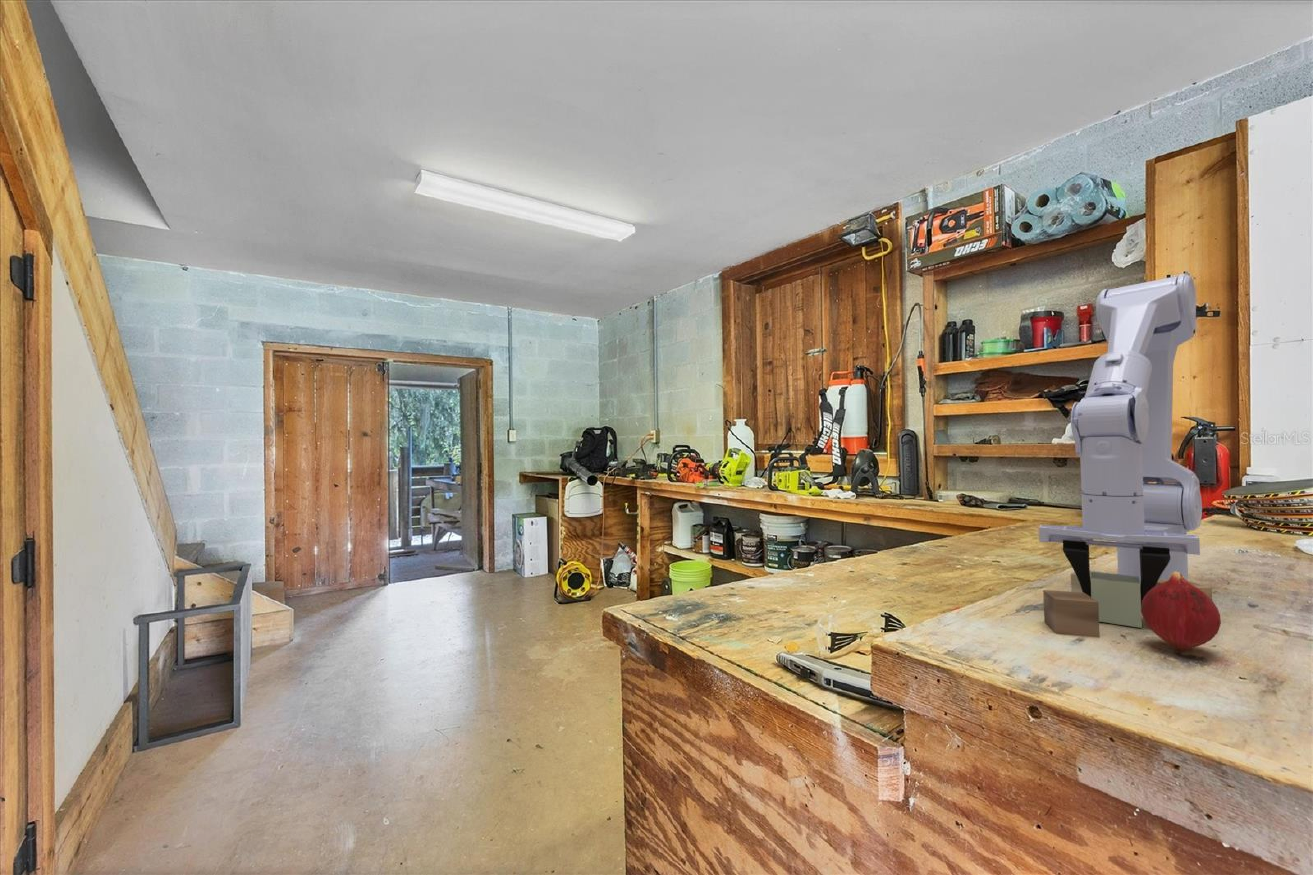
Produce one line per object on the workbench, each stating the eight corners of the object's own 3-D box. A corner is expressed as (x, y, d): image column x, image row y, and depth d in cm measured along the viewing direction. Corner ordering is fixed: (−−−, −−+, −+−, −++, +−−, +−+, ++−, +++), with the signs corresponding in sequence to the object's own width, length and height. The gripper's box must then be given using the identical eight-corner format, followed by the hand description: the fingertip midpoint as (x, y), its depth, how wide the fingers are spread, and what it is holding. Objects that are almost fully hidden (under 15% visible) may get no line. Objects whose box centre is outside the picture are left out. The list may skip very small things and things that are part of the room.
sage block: (1093, 611, 67) (1091, 571, 67) (1140, 617, 64) (1138, 576, 64) (1092, 620, 64) (1090, 578, 64) (1141, 627, 61) (1140, 584, 61)
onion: (1239, 663, 51) (1236, 580, 51) (1169, 660, 52) (1166, 578, 52) (1191, 641, 57) (1188, 566, 57) (1129, 638, 58) (1126, 565, 58)
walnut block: (1044, 623, 64) (1043, 589, 64) (1084, 626, 62) (1083, 592, 62) (1056, 634, 60) (1054, 599, 60) (1099, 638, 59) (1098, 601, 59)
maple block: (1082, 598, 73) (1081, 569, 73) (1119, 605, 70) (1118, 574, 70) (1071, 603, 71) (1070, 573, 71) (1109, 610, 68) (1108, 579, 68)
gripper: (1034, 494, 66) (1038, 604, 66) (1201, 500, 56) (1206, 628, 56) (1040, 490, 71) (1043, 591, 71) (1193, 494, 62) (1198, 611, 62)
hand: (1115, 607), depth 64 cm, fingers closed on sage block, 4 cm apart
